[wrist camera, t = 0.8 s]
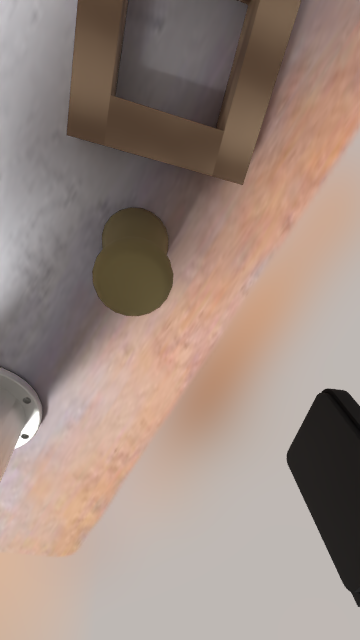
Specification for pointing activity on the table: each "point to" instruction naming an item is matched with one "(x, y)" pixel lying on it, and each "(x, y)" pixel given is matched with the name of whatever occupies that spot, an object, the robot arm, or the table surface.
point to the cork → (133, 263)
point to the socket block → (166, 129)
